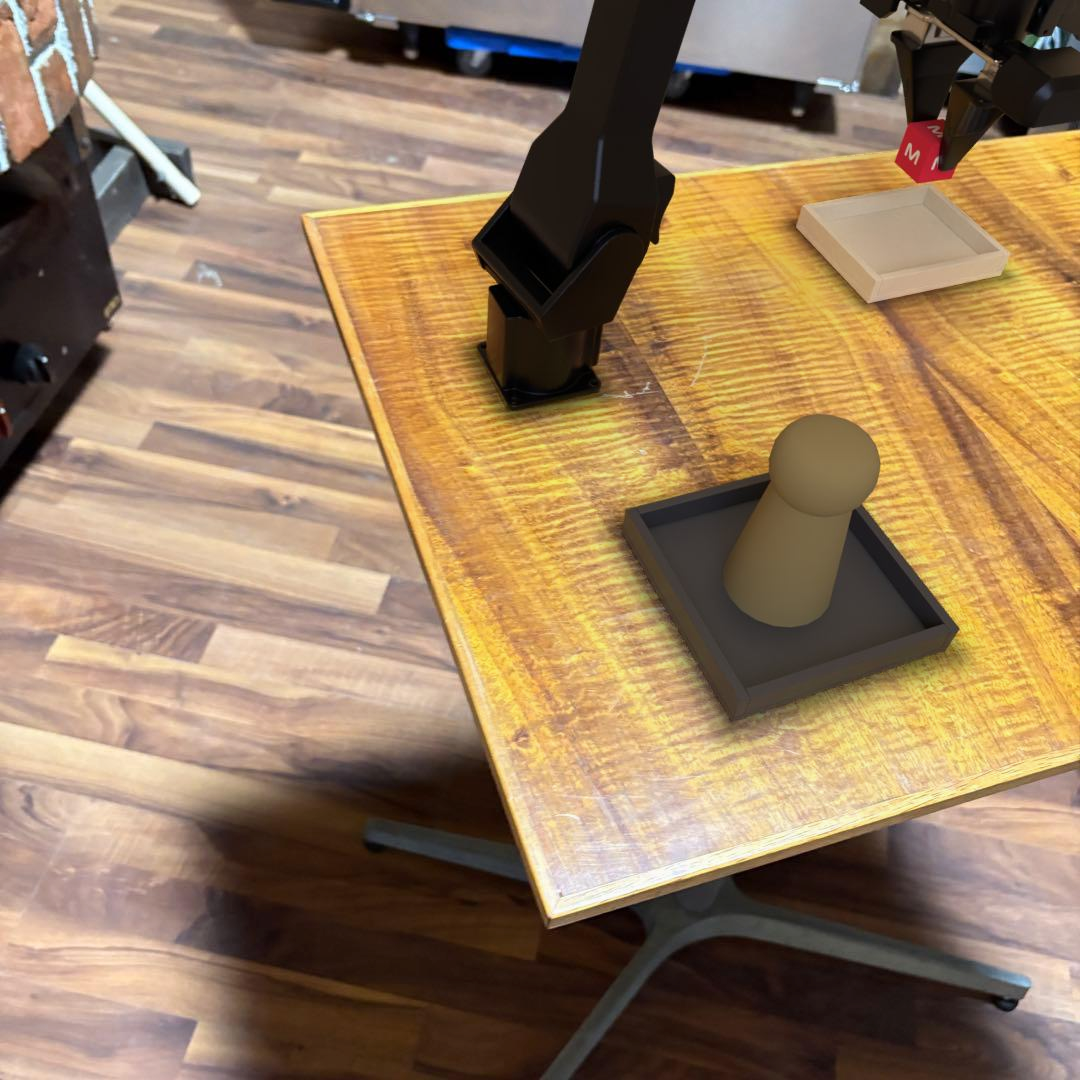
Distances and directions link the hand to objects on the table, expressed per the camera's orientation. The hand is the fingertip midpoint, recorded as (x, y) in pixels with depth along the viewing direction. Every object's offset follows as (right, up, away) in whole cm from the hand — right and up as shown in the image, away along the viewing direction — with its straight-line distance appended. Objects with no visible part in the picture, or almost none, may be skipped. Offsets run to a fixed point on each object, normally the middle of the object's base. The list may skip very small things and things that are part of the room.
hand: (930, 157), depth 73 cm
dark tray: (-15, -30, -17) cm, 37 cm away
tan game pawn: (-15, -30, -17) cm, 37 cm away
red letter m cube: (0, -1, +1) cm, 1 cm away
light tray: (0, -5, +6) cm, 8 cm away
